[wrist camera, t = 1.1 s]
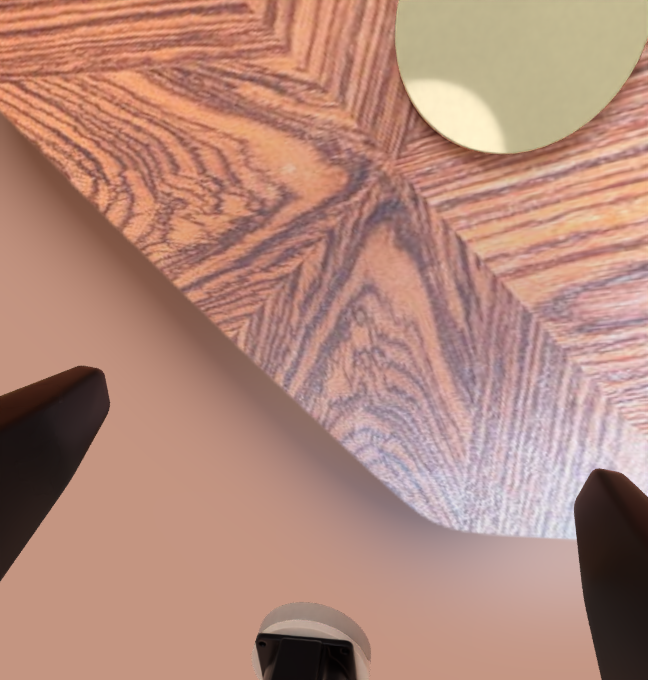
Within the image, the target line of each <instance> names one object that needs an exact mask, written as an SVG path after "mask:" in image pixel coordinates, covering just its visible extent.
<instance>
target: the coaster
mask: <svg viewBox="0 0 648 680" xmlns="http://www.w3.org/2000/svg"><path fill="white" fill-rule="evenodd" d="M647 39H648V0H399V1H398V5H397V13H396V20H395V48H396V58H397V64H398V68H399V72H400V77H401V80H402V82H403V85H404V88H405V91H406V93H407V95H408V97H409V99H410V101H411V103H412V105H413V106H414V108H415V109H416V110H417V112H418V113H419V115H420V116H421V118H422V119H423V120H424V121H425V122H426V123H427V124H428V125H429V126H430V127H431V128H432V129H433V130H434V131H436V132H437V133H438V134H439V135H441V136H442V137H443V138H445V139H447V140H449V141H450V142H452V143H454V144H456V145H458V146H461V147H463V148H465V149H468V150H472V151H476V152H480V153H487V154H497V155H500V154H517V153H523V152H529V151H533V150H536V149H539V148H543V147H546V146H548V145H551V144H553V143H555V142H558V141H560V140H562V139H564V138H565V137H567V136H569V135H571V134H572V133H574V132H576V131H577V130H579V129H580V128H581V127H583V126H584V125H585V124H587V123H588V122H590V121H591V120H592V119H593V118H594V117H595V116H596V115H598V114H599V113H600V112H601V111H602V110H603V109H604V108H605V107H606V106H607V105H608V104H609V103H610V101H611V100H612V99H613V98H614V97H615V96H616V95H617V93H618V92H619V91H620V89H621V88H622V86H623V85H624V84H625V82H626V81H627V79H628V78H629V77H630V75H631V73H632V71H633V69H634V68H635V66H636V64H637V62H638V60H639V58H640V56H641V54H642V51H643V49H644V47H645V44H646V42H647Z"/></svg>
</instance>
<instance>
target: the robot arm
mask: <svg viewBox="0 0 648 680" xmlns="http://www.w3.org/2000/svg"><path fill="white" fill-rule="evenodd" d="M109 407H110V400H109V395H108V390H107V385H106V379H105V375H104V373H103V371H102V370H100V369H98V368H93V367H88V366H77V367H75V368H72V369H69V370H67V371H64V372H61V373H59V374H56V375H54V376H51V377H48V378H46V379H43V380H41V381H38V382H36V383H33V384H30V385H28V386H25V387H23V388H20V389H17V390H15V391H12V392H10V393H7V394H4V395H2V396H0V581H1V580H2V578H3V577H4V575H5V574H6V573H7V571H8V570H9V568H10V567H11V565H12V564H13V563H14V561H15V560H16V558H17V557H18V555H19V554H20V553H21V551H22V550H23V548H24V547H25V545H26V544H27V542H28V541H29V539H30V538H31V537H32V535H33V534H34V532H35V531H36V530H37V528H38V527H39V525H40V524H41V522H42V521H43V520H44V518H45V517H46V515H47V514H48V512H49V511H50V510H51V508H52V506H53V505H54V504H55V502H56V501H57V500H58V498H59V497H60V495H61V494H62V492H63V491H64V489H65V488H66V486H67V485H68V483H69V482H70V480H71V479H72V477H73V475H74V474H75V472H76V470H77V468H78V466H79V465H80V463H81V461H82V459H83V458H84V456H85V454H86V452H87V450H88V448H89V446H90V445H91V443H92V441H93V439H94V438H95V436H96V434H97V432H98V430H99V429H100V427H101V425H102V423H103V422H104V420H105V418H106V416H107V414H108V411H109ZM574 517H575V526H576V536H577V545H578V554H579V563H580V572H581V581H582V589H583V596H584V602H585V607H586V612H587V616H588V621H589V626H590V630H591V634H592V639H593V643H594V648H595V652H596V657H597V660H598V666H599V670H600V674H601V678H602V680H648V497H647V496H646V495H645V494H644V493H643V492H642V491H641V490H640V489H639V488H638V487H637V486H636V485H635V484H634V483H633V482H631V481H630V480H629V479H628V478H627V477H626V476H625V475H624V474H622V473H619V472H616V471H611V470H606V469H600V468H599V469H595V470H593V471H592V472H591V474H590V475H589V477H588V479H587V481H586V482H585V484H584V486H583V488H582V489H581V491H580V493H579V495H578V496H577V498H576V501H575V505H574ZM255 644H256V649H257V653H258V658H259V663H260V668H261V672H262V677H263V680H357V673H356V664H355V655H354V646H353V644H352V643H351V642H350V641H347V640H339V639H327V638H316V637H305V636H293V635H282V634H270V633H260V634H258V635H257V638H256V641H255Z"/></svg>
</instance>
